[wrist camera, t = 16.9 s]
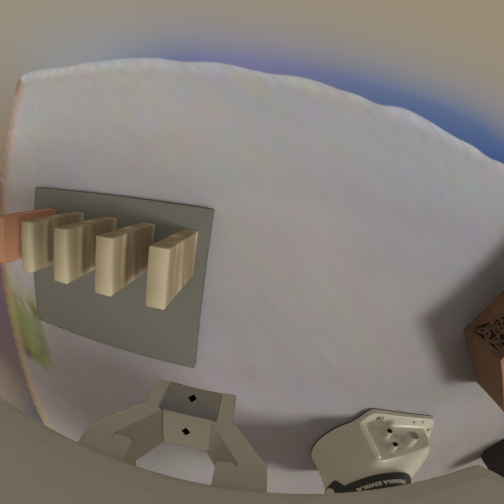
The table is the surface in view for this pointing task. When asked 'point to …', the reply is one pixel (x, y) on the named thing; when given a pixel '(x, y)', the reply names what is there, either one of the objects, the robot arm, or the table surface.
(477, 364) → the tissue box cover
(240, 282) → the table surface
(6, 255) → the end domino
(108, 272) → the domino
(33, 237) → the domino
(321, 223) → the table surface
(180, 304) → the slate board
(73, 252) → the domino
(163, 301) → the domino
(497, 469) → the black rectangular slab
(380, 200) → the table surface
